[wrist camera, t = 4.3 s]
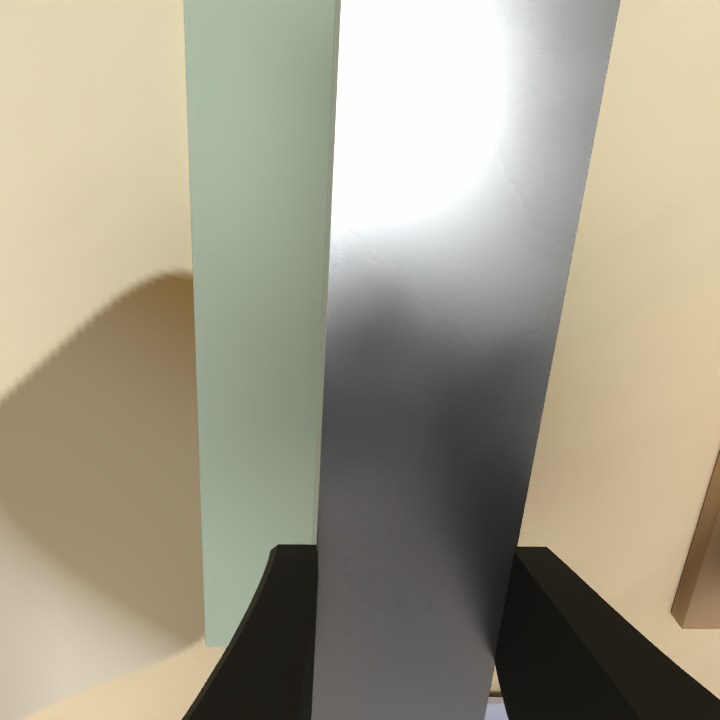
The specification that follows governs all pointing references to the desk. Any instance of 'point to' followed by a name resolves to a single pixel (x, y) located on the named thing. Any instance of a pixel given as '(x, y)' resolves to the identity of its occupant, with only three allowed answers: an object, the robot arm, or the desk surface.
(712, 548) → the stand
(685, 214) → the desk surface
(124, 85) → the desk surface
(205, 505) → the mat
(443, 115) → the rail
